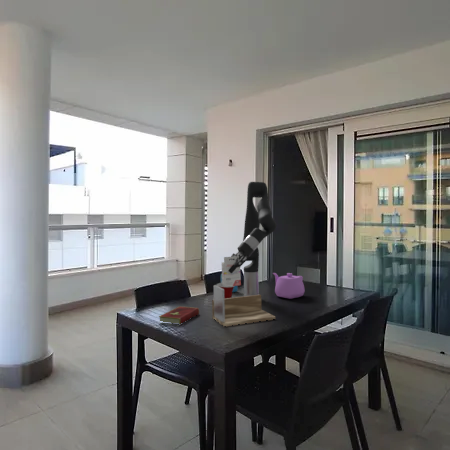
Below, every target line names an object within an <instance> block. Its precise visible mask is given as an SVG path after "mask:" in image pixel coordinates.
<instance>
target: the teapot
mask: <svg viewBox="0 0 450 450" xmlns="http://www.w3.org/2000/svg"><path fill="white" fill-rule="evenodd" d="M272 275H274V278H275V279H274V280H275V281H274V282H275V288H274V293H275V294H276V296H277V297H280V298H285V299H288V300H293V299H296V298H301V297H303V296H304V294H305V292H306V291H305V285H304V282H303V279H304V277H303V276H302V275H293V273H292V272H291V273H290V272H287V273H286V275H281V276H279V275H278V274H277V273H276V272H272Z"/></svg>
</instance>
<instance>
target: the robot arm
mask: <svg viewBox="0 0 450 450" xmlns="http://www.w3.org/2000/svg"><path fill="white" fill-rule="evenodd" d="M268 192H269V191H268V186H267V184H266V182H263V181H249V182H248V185H247V191H246V193H247V194H246V195H247V196H246V197H247V199H246V211H245V219H244V226H243V227H244V229H243V237H242V242H241V243H240V244H239V245H238V247H237V250H238V251H237V252H236V253H232V254H231V256H230V257H234V256H239V261H238V258H237V259H236V260H235V259H232V258H231V259H229V260H235V263H234V264H233V265H232V267H231V268H230V269H229V272H230V273H233V271H234V270H235V269H236V268H238V267H240V268H241V267H242V266H243V265H244V264H245V263H246V262H250V263H249V264H247V265H245V266H244V267H243V296H252V295H260V294H259V291H260V290H259V268H260V267H259V266H260V265H259V264H260V263H259V261H260V259H259V258H260V250H259V248H258V246H259V245H260V244H261V243H262V241H263V240H264V239H265V238H266V237H268V236H270V234H272V233H274V231H276V229H277V225H278V224H277V223H276V221H275V219H274V218H273V216H272V215H273V214H272V209H271V207H270V203H269V201H270V200H269V193H268ZM254 198H261V199H260V200H259V201H258V203H257V206H256V207H255V205H254ZM260 226H261V227H262V229H261V228H260Z"/></svg>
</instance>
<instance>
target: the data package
mask: <svg viewBox="0 0 450 450" xmlns="http://www.w3.org/2000/svg"><path fill="white" fill-rule="evenodd" d="M220 283H222V273H221V274H220ZM238 290H239V289H238V286H234V288H233V291H232V292H233V293H236V292H238Z"/></svg>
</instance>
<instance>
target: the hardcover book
mask: <svg viewBox="0 0 450 450" xmlns="http://www.w3.org/2000/svg"><path fill="white" fill-rule="evenodd" d="M198 314H199V315H200V309H199V307H190V306H177V307H176V308H172V310H169V311H167V312H164V313H163V314H161V315H159V316H158V318H159V322H160V321H163V322H171V323H179V324H181V323H183V322H185V321H187V320H189V319H190V318H192V317H194V316H195V317H197V316H199V315H198ZM196 315H197V316H196ZM195 317H194V318H195ZM192 319H193V318H192ZM190 320H191V319H190ZM190 320H189V321H190ZM187 322H188V321H187ZM185 323H186V322H185Z"/></svg>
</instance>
